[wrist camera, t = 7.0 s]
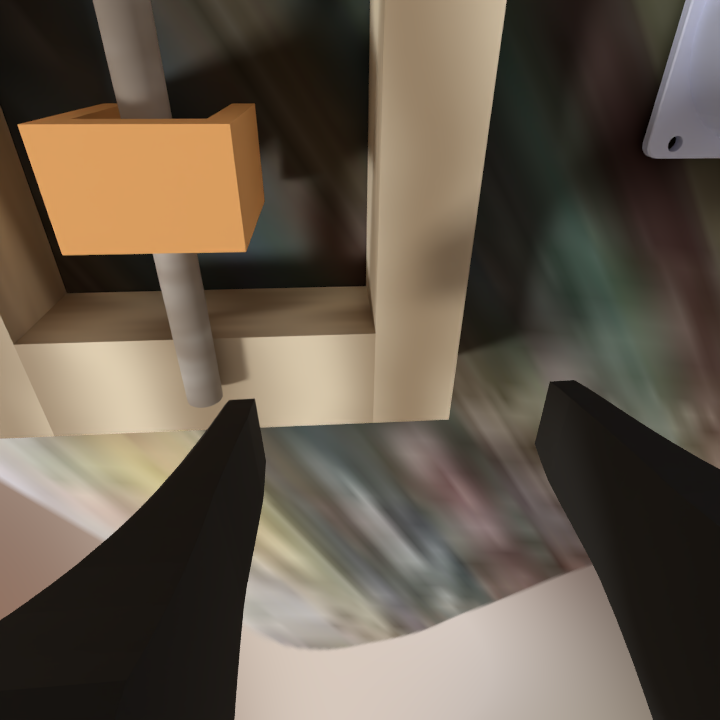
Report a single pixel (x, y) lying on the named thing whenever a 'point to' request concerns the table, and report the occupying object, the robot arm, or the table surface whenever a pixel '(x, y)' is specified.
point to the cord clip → (148, 180)
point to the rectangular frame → (270, 305)
